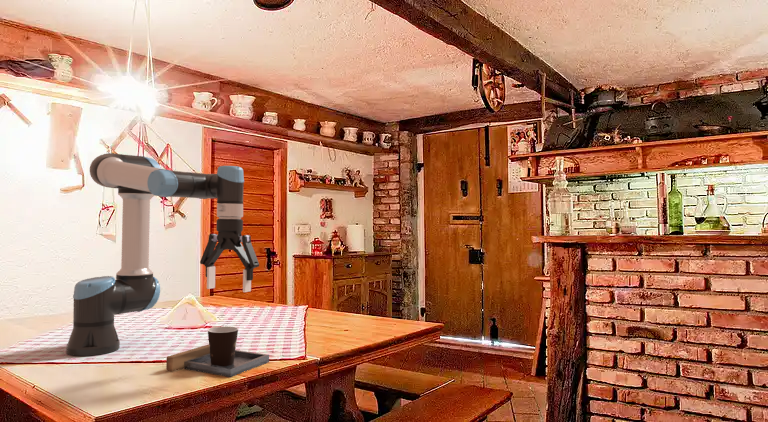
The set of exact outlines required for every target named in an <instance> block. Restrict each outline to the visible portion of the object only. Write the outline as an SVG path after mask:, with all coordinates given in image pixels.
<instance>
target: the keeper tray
mask: <svg viewBox="0 0 768 422" xmlns="http://www.w3.org/2000/svg"><path fill="white" fill-rule="evenodd" d="M269 362H270V354H266V353H260V352H252V351H246V350H238V349H236V350H235V357H234V363H233V364H232V365H230V366H224V367H222V366H216V365H211V359H210V353H209V354H206V355H203V356H200V357H197V358H194V359H191V360H187V361H184V368H183V369H184V370H185V371H186V370H187V371H192V372H198V373H203V374H210V375H215V376H216V375H217V376H221V377H226V378H233V377H235V376H237V374H238V375H240V374H243V373H245V372H248V371H250V370H252V368H253V369H255V368H258V367H260V366H262V365H265V364H268V363H269ZM247 370H248V371H247ZM244 371H245V372H244ZM242 372H243V373H242Z"/></svg>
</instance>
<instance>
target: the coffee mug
mask: <svg viewBox="0 0 768 422" xmlns="http://www.w3.org/2000/svg"><path fill="white" fill-rule="evenodd" d="M238 333H239V328H238V327H237V326H215V327H212V328H211V327H210V328H208V329H207V337H208V344H209V349H210V359H211V365H216V366H222V367H224V366H230V365H232V364H233V363H234V357H235V350H237V341H238Z"/></svg>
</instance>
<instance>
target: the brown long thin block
mask: <svg viewBox="0 0 768 422" xmlns="http://www.w3.org/2000/svg"><path fill="white" fill-rule="evenodd" d="M209 353H210V349H209V343H208V344H205V345H202V346H198V347H196V348H192V349H188V350H184V351H181V352H179V353H174V354H172V355H168V356H166V364H165V365H166V370H165V371H166V372H170V373H171V372H172V373H173V372H177V371H179V370H183V369H184V361H187V360H191V359H194V358H197V357H200V356H203V355H206V354H209Z"/></svg>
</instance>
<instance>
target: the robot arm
mask: <svg viewBox="0 0 768 422" xmlns="http://www.w3.org/2000/svg"><path fill="white" fill-rule="evenodd" d="M216 171H217V172H216V173H201V172H189V171H178V170H172V169H164V168H161V165H160V164H159V163H158V161H157V160H156V159H154V158H152V157H148V156H142V155H131V154H123V153H122V154H121V153H113V152H112V153H111V152H110V153H108V152H107V153H104V154H103V153H102V154H100V155H98V156H96V157H95V158H94V159H93V160H92V161H91V163H90V167H89V175H90V178H91V179H92V181H93V182H95V183H96V184H97V185H99V186H102V187H105V188H111V189H117V194H118V196H119V197H121V199H122V214H121V215H122V217H121V218H122V221H121V223H122V225H121V231H122V232H121V263H120V269H119V270H118V271H117V272H116V275H115V277H114V276H111V275H110V276H109V275H106V276H105V275H104V276H103V275H102V276H95V277H91V278H90V277H89V278H85V279H82V280H80V281H78V282H77V283H76V284H75V285H74V289H73V296H72V298H73V312H72V313H73V315H72V316H73V320H72V321H73V323H72V324H73V325H72V326H73V327H72V331H71V333H70V335H69V339H68V343H67V344H66V351H65V352H66V354H67V355H69V356H75V357H77V356H78V357H86V356H87V357H88V356H98V355H104V354H109V353H112V352H116V351H117V350H119V349H120V343H121V342H120V339H119V335H118V333H117V330H116V326H115V316H116V315H122V314H129V313H137V312H138V313H140V312H142V311H147V310H150V309H152V308H154V306H156V304H157V303H158V301H159V299H160V295H161V284H160V283H159V282H160V281H159V280H158V278H156V277H155V276H154V271H152V269H150V267H149V264H150V263H149V262H150V258H149V257H150V223H151V222H150V219H151V217H150V216H151V215H150V214H151V211H150V210H151V200H152V199H153V197H155V196H156V197H162V198H168V197H169V198H191V199H200V200H202V199H203V200H208V199H216V217H217V219H216V226H215V227H216V228H215V229H216V231H217V233H209V235H208V240H207V241H208V242H207V244H206V246H205V248H204V251H203V253H202V256H201V258H200V261H199V263H200V265H203V266H204V267H205V277H206V290H210V289H216V266H215V263H216V262H217V261H218V259H219V258H220V256H221V255H222V254H223V252H224V251H226V250H229V251H233V252H234V253H236V255H237V257H238V258H239V260H240V262H241V263H242V265H243V266H244V269H242V271H243V272H242V292H243V293H248V292H250V293H251V291H252V281H253V279H254V269H256V268H259V266H260V263H259V260H258V257H257V255H256V251H255V248H254V246H253V245H252V238H251V237H252V235H250V234H244V235H242V232H243V229H244V220H243V219H242V218H243V217H244V192H245V191H244V190H245V189H244V187H245V186H244V184H245V178H244V169H243V168H242V167H240V166H237V165H219V166H218V167H217V170H216Z"/></svg>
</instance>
